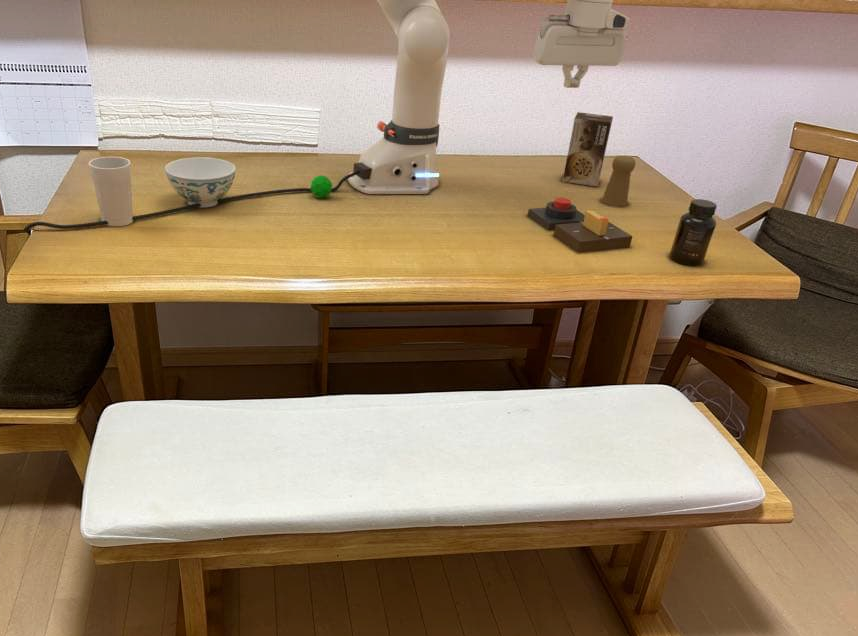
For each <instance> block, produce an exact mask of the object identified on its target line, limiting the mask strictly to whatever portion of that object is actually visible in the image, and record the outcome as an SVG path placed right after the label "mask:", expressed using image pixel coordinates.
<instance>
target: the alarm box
mask: <svg viewBox="0 0 858 636" xmlns="http://www.w3.org/2000/svg"><path fill="white" fill-rule="evenodd" d="M553 205H554V201H548V202H547V203H546V206H545V207H536V208H535V207H534V208H528V209H527V216H526V217H528V218H530V219H531V220H533V222H535V223H536V224H538V225H540V226H541V227H543V228H544V229H545V230H547V231H554V230H555V225H558V224H569V223H579V221H582V222H584V217H585V213H582V212H581V211H579V210H578V208H577V206H576V205H574V204H573V203H571V204H570V209H569V210H562V209H557V208H554V207H553Z"/></svg>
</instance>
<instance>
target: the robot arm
mask: <svg viewBox="0 0 858 636" xmlns="http://www.w3.org/2000/svg"><path fill="white" fill-rule="evenodd" d="M613 1H614V0H567V3H566V7H565V12H564V14H549V15H548V16H547V17H545V18H544V19H543V20H542V21H541V22H540V27H539V33H538V36H537V39H536V41H535V46H534V49H533V53H532V58H533V61H534V63H536V64H539V65H541V66H561V67H562V68H561V70H562V73H563V76H564V77H563V78H564V80H563V87H564V88H566V89H571V88H572V89H579V88H580V85H581V81H582V79H583V78H584V77H585V76H586V75H587V73H588V71H589V67H590V66H592V67H593V66H597V67H599V66H602V67H604V66H605V67H606V66H607V67H616V66H618V65H619V63H620V62H621V61H622V58H623V55H624V51H625V48H626V42H627V32H626V29H627V28H628V27H629V24H630V18H629V17H628V16H626V15H624V14H622V13H621V12H618V11H617V10H614V9H612V5H613ZM376 2H377V3H378V5H379V6H380V8H381V10H382V12H383V14H384V15H385V18H386V19H387V21H388V23H389V24H390V26H391V28H392V31H393V32H394V33H395V35H396V37H397V40H398V47H397V57H396V58H397V59H396V60H397V61H396V68H395V69H396V71H395V78H394V86H393V103H392V113H391V115H392V116H391V120H390V121H389V123H387V124H386V123H385V122H384V121H382V120H381V121H378V123H376V129H378V130H379V131H380V132H383V137H382V138H380V139H379V140H378V141H376V142H375V143H374V144H373V145H372V146H370V147H369V148H368V149H366V150H365V151H364V152H362V153H361V155H360V156H359V160H358V162H354V163H353V171H350V172H349V173H348V174H347V175H346V176H344V177H343V178H342V179H340V180H339V182H338V183H337V184H336V185H335V186H334V187H332V190H331V193H332V192H335V191H338V190H339V189H340V188H341V186H342V185H343V183H344V182H345V181H347V182H348V183H349V184H350V185H351V186H352V187H353V188H354V189H356V190H357V191H359V192H361V193H364V194H368V195H426V194H427V195H428V194H429V193H430V191H431V190H433V189H435V188H437V187H438V185H439V179H438V178H439V177H440V173H438V172H437V171H438V169H437V147H438V144H439V138H440V124H439V118H440V109H441V101H442V100H441V99H442V91H443V85H444V80H445V74H446V69H447V61H448V55H449V50H450V49H449V48H450V43H451V42H450V40H451V32H450V27H449V24H448V22H447V21H446V19H445V17H444V16H443V13H442V11H441V9H440V7H439V6H438V4H437V3H438V2H437V1H436V0H376ZM575 66H576V69H577V71H576V73H575V75H574V76H573V77H572V72H573V71H574V69H575V68H574V67H575ZM296 192H308V193H309V192H310V193H312V191H311V187H295V188H284V189H275V190H265V191H259V192H251V193H245V194H244V193H243V194H238V195H232V196H228V197H227V196H226V197H222V198H220V199H219V200H217V203H218V204H220V203H224V202H229V201H234V200H240V199H247V198H252V197H253V198H254V197H259V196H267V195H268V196H269V195H275V194H286V193H296ZM200 206H201V204H193V205H189V204H188V205H184V206H180V207H175V208H170V209H165V210H160V211H157V212H150V213H145V214H140V215H133V217H132V220H133V221H137V220H142V219H147V218H152V217H159V216H163V215H169V214H173V213H177V212H182V211H186V210H190V209H194V208H195V209H197V208H201V207H200ZM122 220H123V219H122ZM106 224H108V222H107V221H102V220H100V221H92V222H85V223H75V224H74V223H73V224H57V223H51V222H46V221H34V222H30V223H29V224H27V225H26V226H25V227H23V229H22V232H27V231H29V230H31V229H32V228H33V227H39V226H41V227H47V228H48V227H49V228H53V229H60V230H67V229H69V230H70V229H82V228H91V227H98V226H107V225H106Z"/></svg>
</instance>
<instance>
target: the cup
mask: <svg viewBox="0 0 858 636" xmlns="http://www.w3.org/2000/svg"><path fill="white" fill-rule="evenodd" d="M88 167H89V171H90V176H91V179H92V182H93V187H94V190H95V194H96V199H97V205H98V208H99V212H100V221H107V222H108V224H106V225H105V226H110V227H122V226H123V227H124V226H127V225H130V224H132V223H133V222H134V220H132V217H133V216H134V214H133V195H132V163H131V160H130V159H128V158H125V157H121V156H101V157H96V158H93V159H90V160H89V161H88ZM122 219H123V220H122Z"/></svg>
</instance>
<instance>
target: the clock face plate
mask: <svg viewBox="0 0 858 636" xmlns="http://www.w3.org/2000/svg"><path fill="white" fill-rule="evenodd" d="M553 237H554V238H556V239H557V240H559V241H560V242H562V243H563V244H564V245H566V246H567V247H569V248H570V249H571V250H573V251H575V252H576V253H578V254H581V253H588V252H589V253H590V252H598V251H608V250H617V249H618V250H619V249H625V248H627V249H628V248H630V247H631V243H632V240H633V235H631V234H630V233H628V232H626V231H625V230H623V229H622V228H620V227H618V226H617V225H615V224H614V223H612V222H610V221H609V222H608V226H607V230H606V234H605V235H601V236H599V235H597V234H596V233H594V232H592V231H591V230H589V229H588V228H586V227H585V226H583V222H582V221H579V223H569V224H558V225H555V230H553Z"/></svg>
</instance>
